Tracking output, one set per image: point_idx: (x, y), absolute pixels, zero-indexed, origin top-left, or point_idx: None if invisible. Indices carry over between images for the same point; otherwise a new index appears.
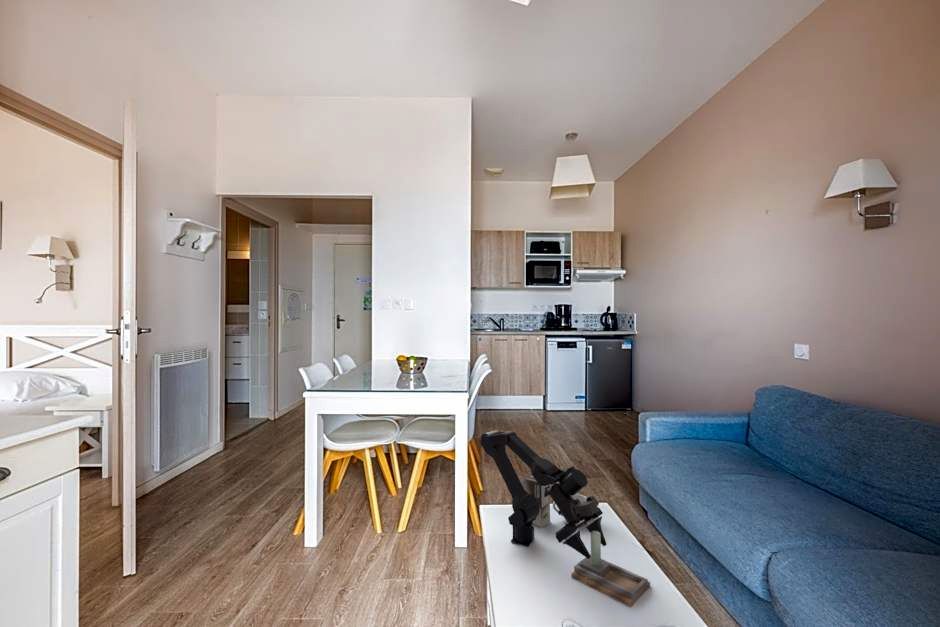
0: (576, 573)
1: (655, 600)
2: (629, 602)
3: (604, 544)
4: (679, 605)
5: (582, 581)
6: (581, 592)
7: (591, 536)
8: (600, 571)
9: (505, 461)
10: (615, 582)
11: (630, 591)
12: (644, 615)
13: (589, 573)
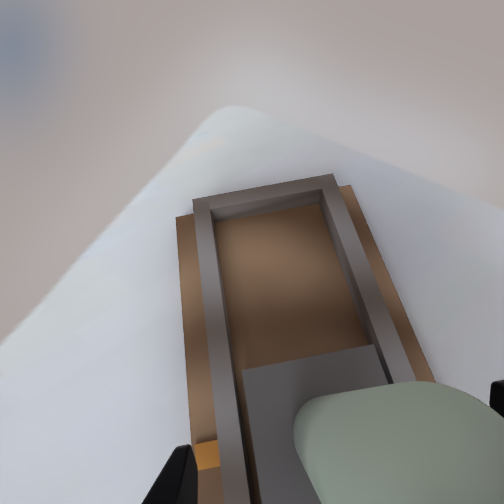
0: None
1: (238, 178)
2: (351, 189)
3: (191, 464)
4: (199, 136)
5: None
6: (493, 366)
7: None
8: (364, 349)
9: None
10: (303, 293)
11: (328, 188)
12: (335, 156)
13: None
